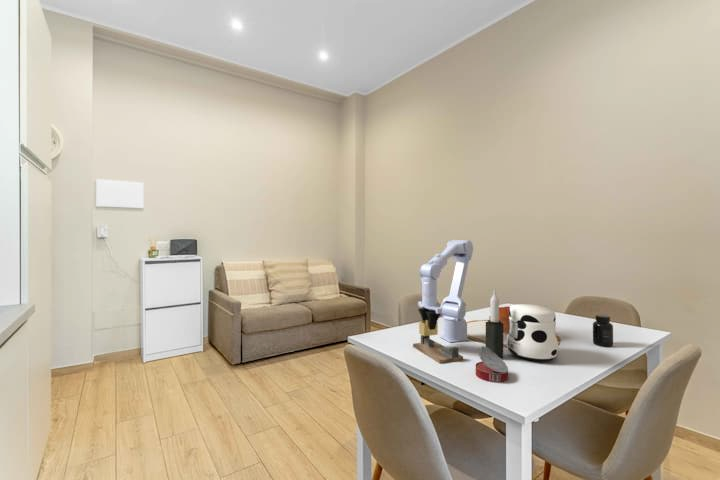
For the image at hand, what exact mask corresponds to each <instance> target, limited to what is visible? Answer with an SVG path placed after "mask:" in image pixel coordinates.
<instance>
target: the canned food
mask: <svg viewBox="0 0 720 480" xmlns="http://www.w3.org/2000/svg"><path fill="white" fill-rule="evenodd" d="M478 356H479V359H480V360H481V361H480V362H476V364H475V376H476V377H477V378H479V380H482V381H485V382H489V383H493V384H494V383H495V384H497V383H499V384H500V383H505V382H507V381H508V380H509V366H507V364H506V362H504V361H503V358H499V357H498V356H497V355H496V354H495V353H494V352H492V350H490V349H489V348H488V347H486V346H481V347H480V348H479V350H478Z"/></svg>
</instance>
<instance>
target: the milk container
mask: <svg viewBox="0 0 720 480" xmlns="http://www.w3.org/2000/svg"><path fill="white" fill-rule="evenodd" d="M509 307H510V312H509V315H510V316H509V331H508V334H507V335H506V347H507V349H508V351H509V352H510V353H511V354H513V355H514V356H517V357H519V358H522V359H525V360H530V361H531V360H532V361H539V362H540V361H551V360H553V359H555V358H556V357H557V355H558V352H559V342H558V339H557V335H556V327H557V326H556V323H557V320H556V317H557V316H556V311H555V309H554V308H552V307H548V306H546V305H545V306H543V305H540V304H539V305H538V304H530V303H529V304H525V303H524V304H523V303H522V304H520V303H519V304H518V303H517V304H516V303H515V304H512V305H510V306H509Z"/></svg>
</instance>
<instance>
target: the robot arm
mask: <svg viewBox="0 0 720 480" xmlns="http://www.w3.org/2000/svg"><path fill="white" fill-rule="evenodd" d="M473 252H474V246H473V242H472V241H471V239H466V240H465V239H461V240H459V239H449V241H448V242H447V243H446V247H445V249H444V250H443V251H442V252H441V253H436V254H435V255H434V256H433V257H432V258H431V259H430V260H429V261H428V262H427V263H424V264H422V265H420V268H419V271H418V274H419V277H420V281H421V285H422V287H421V291H422V292H421V299H422V300H421V301H420V300H419V301H418V302H417V305H418V306H417V307H420V308H418V312H419V314H420V317H421V321H425V320H426V319H428V320H429V328H430V330H433V329H435V327H436V324H437V322H438V321H439V318H440V316H441V317H442V319H443V335H439V337H440V339H443V340H445V341H446V342H448V343H456V342H464V341H469V338H468V323H467V320H466V319H465V317H466V315H467V314H466V309H467V308H466V307H467V306H466V305H467V304H466V302H465V300H463V299H462V295H463V291H464V287H465V281H466V276H467V272H468V271H467V270H468V266H469V262H470V261H471V260H472V257H473ZM450 258H452V260H455V262H456V263H455V267H454V271H453V273H454V274H453V276H452V282H451V284H450V291H449V295H447V296H446V297H444V298H443V300H442V302H441V305H440V306H439V305H438V304H437V303H438V301H437V300H438V298H437V297H438V296H437V295H438V294H437V293H438V289H437V287H438V286H437V285H438V284H437V283H438V279H439V277H440V274H441V273H442V269H444V268H445V266H446V265H448V260H449V259H450Z"/></svg>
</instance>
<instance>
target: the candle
mask: <svg viewBox="0 0 720 480" xmlns="http://www.w3.org/2000/svg"><path fill="white" fill-rule="evenodd" d="M496 292H497V291H496V290H493V292H492V293H493V294H492V296H491V298H489V299H490V300H489V302H490V306H489V307H490V309H489V311H490V312H489V313H490V314H489V317H490V320H489V319H488V320H487V321H485V347H488V348H489V349H490V350H492V352H494V353H495V354H496V355H497V356H498V357H499V358H501V359H504V333H503V331H504V324H503V323H501V321H499V307H500V299H499V298H498V295H497V293H496Z"/></svg>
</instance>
